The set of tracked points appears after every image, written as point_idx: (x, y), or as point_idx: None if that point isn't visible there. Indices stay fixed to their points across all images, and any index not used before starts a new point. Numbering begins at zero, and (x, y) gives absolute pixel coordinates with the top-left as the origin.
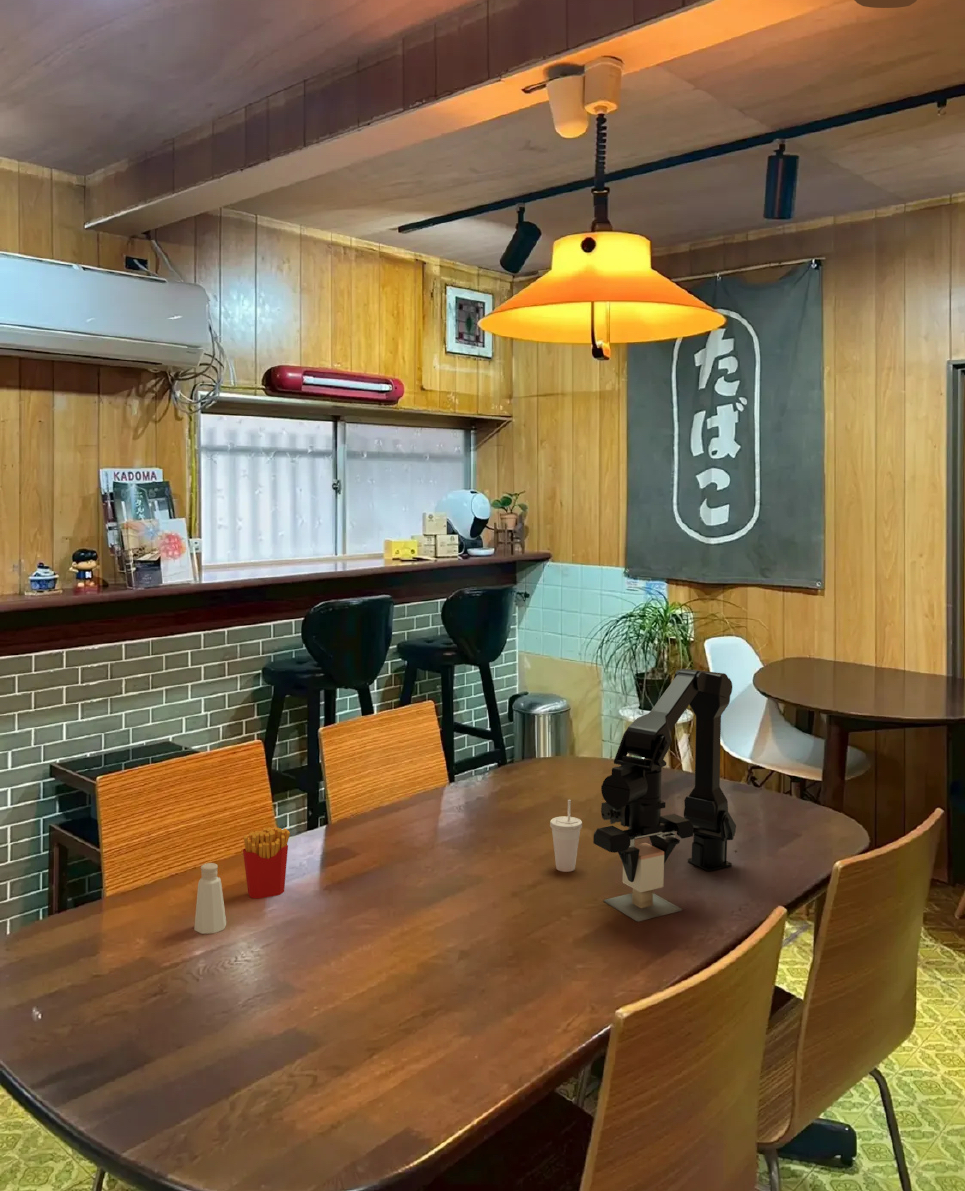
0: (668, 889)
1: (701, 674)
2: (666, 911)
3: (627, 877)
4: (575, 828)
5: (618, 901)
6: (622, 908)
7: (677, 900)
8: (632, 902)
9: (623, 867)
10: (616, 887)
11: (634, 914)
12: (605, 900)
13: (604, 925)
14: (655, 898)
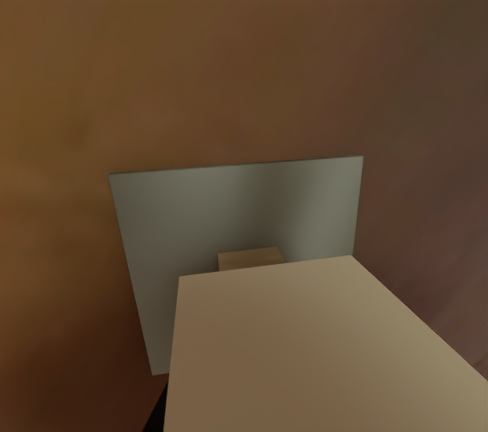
0: (440, 176)
1: None
2: None
3: (164, 389)
4: None
5: (169, 219)
6: (148, 284)
7: (387, 272)
8: (217, 257)
9: (171, 368)
10: (267, 40)
11: (166, 338)
12: (113, 186)
13: (12, 367)
14: (329, 246)
